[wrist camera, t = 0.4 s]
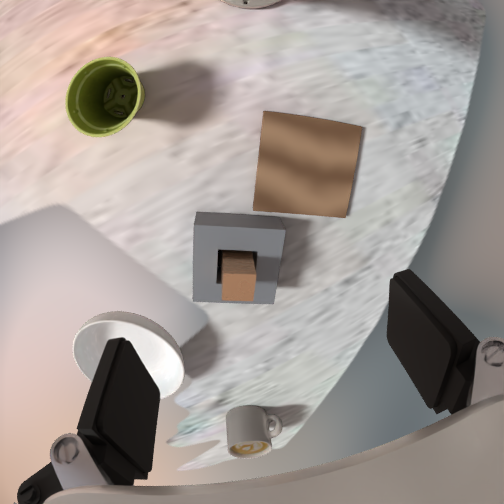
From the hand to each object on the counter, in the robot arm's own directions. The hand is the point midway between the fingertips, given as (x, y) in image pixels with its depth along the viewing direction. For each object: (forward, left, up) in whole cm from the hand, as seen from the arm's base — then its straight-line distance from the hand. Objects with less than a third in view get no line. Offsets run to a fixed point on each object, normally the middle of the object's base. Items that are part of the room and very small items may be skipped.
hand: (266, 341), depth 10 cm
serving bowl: (+34, -16, -35) cm, 51 cm away
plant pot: (-8, -15, -35) cm, 39 cm away
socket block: (+14, +2, -34) cm, 37 cm away
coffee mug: (+58, +9, -35) cm, 68 cm away
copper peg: (+14, +2, -35) cm, 37 cm away
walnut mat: (0, +11, -34) cm, 36 cm away
